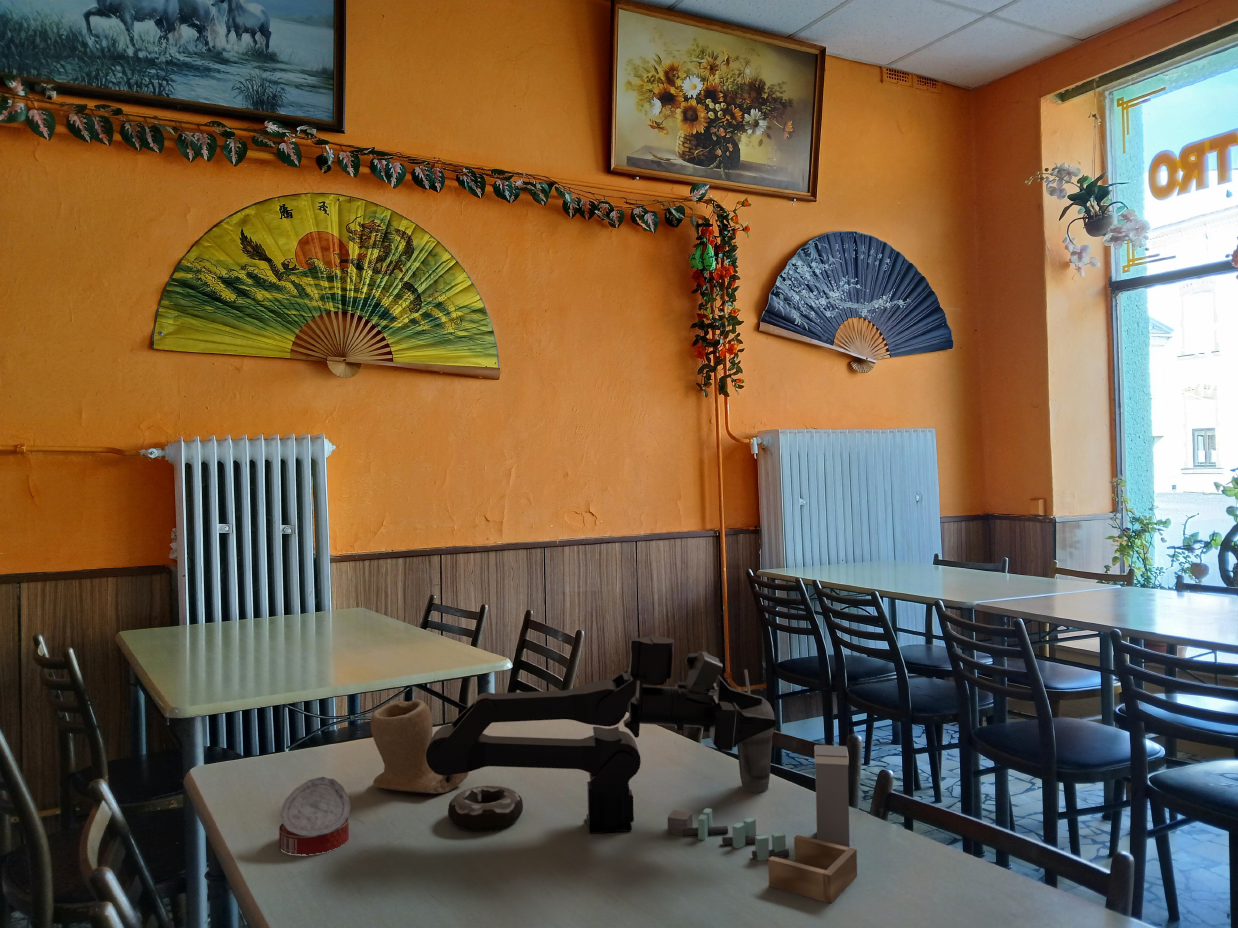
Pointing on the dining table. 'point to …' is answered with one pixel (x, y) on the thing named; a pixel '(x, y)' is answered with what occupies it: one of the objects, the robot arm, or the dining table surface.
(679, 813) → the brown grey short block
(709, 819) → the cable clips
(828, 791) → the tall grey box
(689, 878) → the dining table surface
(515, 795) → the donut
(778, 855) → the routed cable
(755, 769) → the beverage cup
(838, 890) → the end holder
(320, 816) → the canned food
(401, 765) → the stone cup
